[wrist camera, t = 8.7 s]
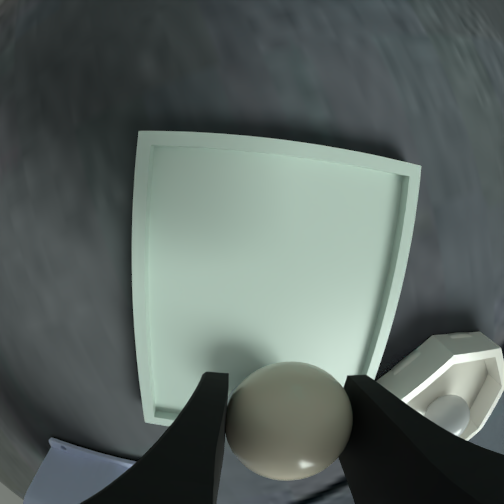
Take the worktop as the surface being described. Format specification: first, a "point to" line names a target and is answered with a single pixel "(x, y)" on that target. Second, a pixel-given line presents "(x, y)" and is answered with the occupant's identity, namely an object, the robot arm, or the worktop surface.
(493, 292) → the worktop surface
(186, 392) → the parts tray
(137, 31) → the worktop surface
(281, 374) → the beige round ball
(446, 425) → the pebble grey
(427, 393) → the stoneware bowl
